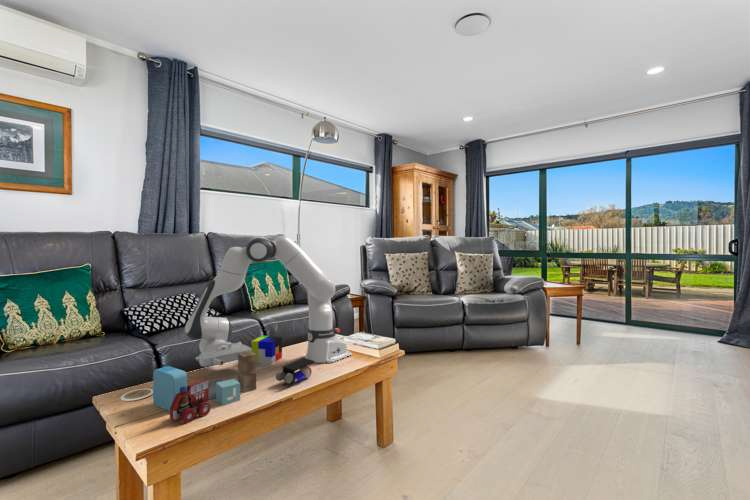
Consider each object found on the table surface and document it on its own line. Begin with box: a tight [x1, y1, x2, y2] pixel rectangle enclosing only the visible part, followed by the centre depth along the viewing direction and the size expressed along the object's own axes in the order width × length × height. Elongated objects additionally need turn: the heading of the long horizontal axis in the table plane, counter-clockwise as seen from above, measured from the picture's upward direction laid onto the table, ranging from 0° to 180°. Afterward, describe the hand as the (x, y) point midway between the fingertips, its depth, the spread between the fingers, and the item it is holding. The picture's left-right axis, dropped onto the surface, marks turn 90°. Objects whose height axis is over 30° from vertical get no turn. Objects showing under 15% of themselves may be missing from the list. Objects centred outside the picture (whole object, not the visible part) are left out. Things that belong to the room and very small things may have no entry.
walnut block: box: [237, 351, 257, 393], centre depth 136 cm, size 4×6×13 cm
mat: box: [209, 379, 224, 401], centre depth 135 cm, size 10×16×1 cm, turn 43°
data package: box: [152, 365, 188, 412], centre depth 121 cm, size 12×4×12 cm, turn 59°
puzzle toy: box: [250, 335, 283, 365], centre depth 169 cm, size 10×10×10 cm
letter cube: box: [215, 378, 241, 406], centre depth 126 cm, size 6×6×6 cm
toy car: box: [275, 357, 315, 388], centre depth 143 cm, size 7×8×15 cm
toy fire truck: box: [169, 378, 212, 424], centre depth 114 cm, size 7×12×10 cm, turn 148°
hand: (233, 360), depth 145 cm, fingers open, 8 cm apart
